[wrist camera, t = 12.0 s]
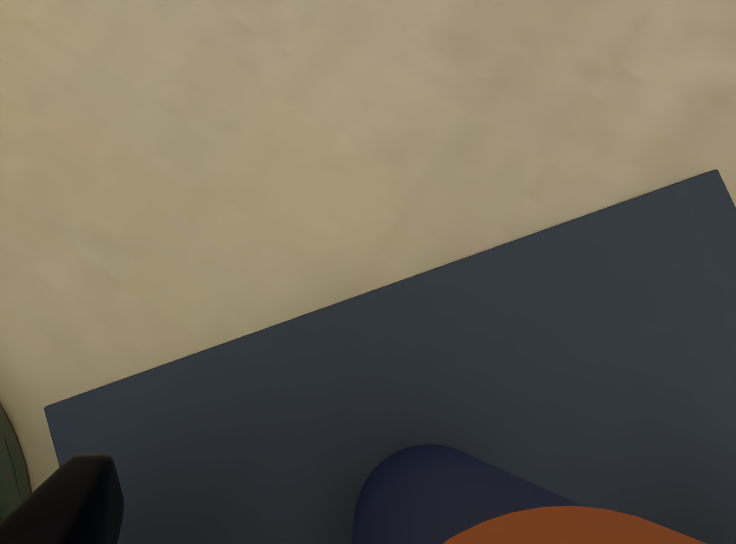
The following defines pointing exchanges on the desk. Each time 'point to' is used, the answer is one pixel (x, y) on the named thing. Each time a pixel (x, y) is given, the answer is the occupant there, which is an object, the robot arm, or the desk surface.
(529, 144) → the desk surface
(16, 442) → the pot
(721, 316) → the dark grey flat plate
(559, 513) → the disc
